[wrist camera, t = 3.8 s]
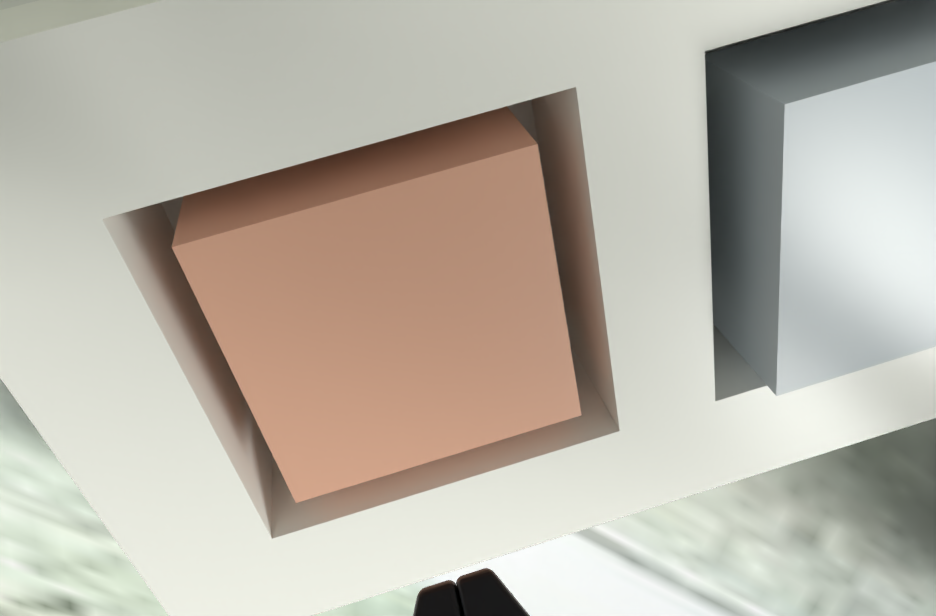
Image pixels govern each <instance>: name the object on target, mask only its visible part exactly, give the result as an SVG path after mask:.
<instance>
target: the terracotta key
mask: <svg viewBox="0 0 936 616" xmlns="http://www.w3.org/2000/svg"><path fill="white" fill-rule="evenodd" d="M172 249H173V251H174V253H175V255H176V257H177V259H178V261H179V263H180V266H181V268H182V270H183V272H184V274H185V276H186V278H187V280H188V282H189V284H190V286H191V288H192V290H193V292H194V294H195V296H196V298H197V301H198V303H199V305H200V307H201V309H202V311H203V313H204V315H205V317H206V319H207V321H208V323H209V325H210V327H211V329H212V331H213V333H214V336H215V338H216V340H217V342H218V344H219V346H220V348H221V350H222V352H223V354H224V356H225V358H226V360H227V362H228V364H229V366H230V368H231V371H232V373H233V375H234V377H235V379H236V381H237V383H238V385H239V387H240V389H241V391H242V393H243V395H244V397H245V399H246V401H247V403H248V406H249V408H250V410H251V412H252V414H253V416H254V418H255V420H256V422H257V424H258V426H259V428H260V430H261V432H262V434H263V436H264V438H265V441H266V443H267V445H268V447H269V449H270V451H271V453H272V455H273V457H274V459H275V461H276V463H277V465H278V467H279V469H280V471H281V473H282V476H283V478H284V480H285V482H286V484H287V486H288V488H289V490H290V492H291V494H292V496H293V498H294V500H295V502H296V503H298V502H301V501H304V500H308V499H311V498H314V497H317V496H321V495H324V494H327V493H330V492H334V491H337V490H340V489H343V488H347V487H350V486H353V485H356V484H360V483H363V482H366V481H369V480H373V479H376V478H379V477H382V476H386V475H389V474H392V473H395V472H399V471H402V470H405V469H408V468H412V467H415V466H418V465H421V464H425V463H428V462H431V461H434V460H438V459H441V458H444V457H448V456H451V455H454V454H457V453H461V452H464V451H467V450H470V449H474V448H477V447H480V446H483V445H487V444H490V443H493V442H496V441H500V440H503V439H506V438H509V437H513V436H516V435H519V434H522V433H526V432H529V431H532V430H535V429H539V428H542V427H545V426H548V425H552V424H555V423H558V422H561V421H565V420H568V419H571V418H574V417H578V416H581V409H580V402H579V396H578V390H577V384H576V378H575V372H574V366H573V359H572V353H571V347H570V341H569V335H568V329H567V322H566V316H565V310H564V304H563V298H562V292H561V285H560V279H559V273H558V267H557V261H556V255H555V248H554V242H553V236H552V230H551V224H550V218H549V211H548V205H547V199H546V193H545V187H544V181H543V175H542V168H541V162H540V156H539V150H538V144H537V143H536V141H535V140H534V139H533V138H532V137H531V135H530V134H529V133H528V132H527V130H526V129H525V128H524V127H523V126H522V124H521V123H520V122H519V121H518V119H517V118H516V117H515V116H514V114H513V113H512V112H511V111H510V110H509V108H508V107H507V106H506V107H502V108H499V109H495V110H491V111H488V112H484V113H481V114H477V115H473V116H470V117H466V118H463V119H459V120H456V121H452V122H448V123H445V124H441V125H438V126H434V127H430V128H427V129H423V130H420V131H416V132H412V133H409V134H405V135H402V136H398V137H394V138H391V139H387V140H384V141H380V142H376V143H373V144H369V145H366V146H362V147H359V148H355V149H351V150H348V151H344V152H341V153H337V154H333V155H330V156H326V157H323V158H319V159H315V160H312V161H308V162H305V163H301V164H297V165H294V166H290V167H287V168H283V169H279V170H276V171H272V172H269V173H265V174H262V175H258V176H254V177H251V178H247V179H244V180H240V181H236V182H233V183H229V184H226V185H222V186H218V187H215V188H211V189H208V190H204V191H200V192H197V193H193V194H190V195H186V196H183V200H182V204H181V209H180V213H179V217H178V222H177V226H176V230H175V235H174V239H173V244H172Z"/></svg>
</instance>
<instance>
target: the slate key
mask: <svg viewBox="0 0 936 616" xmlns="http://www.w3.org/2000/svg"><path fill="white" fill-rule="evenodd" d="M705 74H706V107H707V141H708V174H709V207H710V240H711V273H712V306H713V324H714V325H715V326H716V328H717V329H718V330H719V331H720V332H721V333H722V334H723V336H724V337H725V338H726V339H727V340H728V341H729V343H730V344H731V345H732V346H733V347H734V348H735V349H736V351H737V352H738V353H739V354H740V355H741V356H742V357H743V359H744V360H745V361H746V362H747V363H748V364H749V365H750V367H751V368H752V369H753V370H754V371H755V372H756V373H757V375H758V376H759V377H760V378H761V379H762V380H763V381H764V383H765V384H766V385H767V386H768V387H769V388H770V389H771V391H772V392H773V393H774V394H775V395H776V396H778V395H782V394H785V393H788V392H791V391H794V390H798V389H801V388H804V387H807V386H810V385H814V384H817V383H820V382H823V381H827V380H830V379H833V378H836V377H839V376H843V375H846V374H849V373H852V372H855V371H859V370H862V369H865V368H868V367H872V366H875V365H878V364H881V363H884V362H888V361H891V360H894V359H897V358H901V357H904V356H907V355H910V354H913V353H917V352H920V351H923V350H926V349H929V348H933V347H936V0H898V1H895V2H891V3H888V4H884V5H880V6H877V7H873V8H870V9H866V10H862V11H859V12H855V13H852V14H848V15H844V16H841V17H837V18H834V19H830V20H826V21H823V22H819V23H816V24H812V25H809V26H805V27H801V28H798V29H794V30H791V31H787V32H783V33H780V34H776V35H773V36H769V37H765V38H762V39H758V40H755V41H751V42H748V43H744V44H740V45H737V46H733V47H730V48H726V49H722V50H719V51H715V52H712V53H708V54H705Z"/></svg>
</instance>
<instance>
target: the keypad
mask: <svg viewBox="0 0 936 616" xmlns="http://www.w3.org/2000/svg"><path fill="white" fill-rule="evenodd" d="M895 1H898V0H0V378H1V380H2V381H3V383H4V384H5V385H6V387H7V388H8V390H9V391H10V393H11V394H12V395H13V397H14V398H15V400H16V401H17V402H18V404H19V405H20V407H21V408H22V409H23V411H24V412H25V414H26V415H27V417H28V418H29V419H30V421H31V422H32V424H33V425H34V426H35V428H36V429H37V431H38V432H39V433H40V435H41V436H42V438H43V439H44V441H45V442H46V443H47V445H48V446H49V448H50V449H51V450H52V452H53V453H54V455H55V456H56V457H57V459H58V460H59V462H60V463H61V464H62V466H63V467H64V469H65V470H66V472H67V473H68V474H69V476H70V477H71V479H72V480H73V481H74V483H75V484H76V486H77V487H78V488H79V490H80V491H81V493H82V494H83V496H84V497H85V498H86V500H87V501H88V503H89V504H90V505H91V507H92V508H93V510H94V511H95V512H96V514H97V515H98V517H99V518H100V520H101V521H102V522H103V524H104V525H105V527H106V528H107V529H108V531H109V532H110V534H111V535H112V536H113V538H114V539H115V541H116V542H117V543H118V545H119V546H120V548H121V549H122V551H123V552H124V553H125V555H126V556H127V558H128V559H129V560H130V562H131V563H132V565H133V566H134V567H135V569H136V570H137V572H138V573H139V575H140V576H141V577H142V579H143V580H144V582H145V583H146V584H147V586H148V587H149V589H150V590H151V591H152V593H153V594H154V596H155V597H156V599H157V600H158V601H159V603H160V604H161V606H162V607H163V608H164V610H165V611H166V613H167V614H168V615H169V616H313V615H317V614H320V613H323V612H326V611H329V610H332V609H335V608H339V607H342V606H345V605H348V604H351V603H354V602H358V601H361V600H364V599H367V598H370V597H373V596H376V595H380V594H383V593H386V592H389V591H392V590H395V589H399V588H402V587H405V586H408V585H411V584H414V583H417V582H421V581H424V580H427V579H430V578H433V577H436V576H439V575H443V574H446V573H449V572H452V571H455V570H458V569H462V568H465V567H468V566H471V565H474V564H477V563H480V562H484V561H487V560H490V559H493V558H496V557H499V556H502V555H506V554H509V553H512V552H515V551H518V550H521V549H525V548H528V547H531V546H534V545H537V544H540V543H543V542H547V541H550V540H553V539H556V538H559V537H562V536H565V535H569V534H572V533H575V532H578V531H581V530H584V529H588V528H591V527H594V526H597V525H600V524H603V523H606V522H610V521H613V520H616V519H619V518H622V517H625V516H629V515H632V514H635V513H638V512H641V511H644V510H647V509H651V508H654V507H657V506H660V505H663V504H666V503H669V502H673V501H676V500H679V499H682V498H685V497H688V496H692V495H695V494H698V493H701V492H704V491H707V490H710V489H714V488H717V487H720V486H723V485H726V484H729V483H732V482H736V481H739V480H742V479H745V478H748V477H751V476H755V475H758V474H761V473H764V472H767V471H770V470H773V469H777V468H780V467H783V466H786V465H789V464H792V463H795V462H799V461H802V460H805V459H808V458H811V457H814V456H818V455H821V454H824V453H827V452H830V451H833V450H836V449H840V448H843V447H846V446H849V445H852V444H855V443H859V442H862V441H865V440H868V439H871V438H874V437H877V436H881V435H884V434H887V433H890V432H893V431H896V430H899V429H903V428H906V427H909V426H912V425H915V424H918V423H922V422H925V421H928V420H931V419H934V418H936V347H933V348H929V349H926V350H923V351H920V352H917V353H913V354H910V355H907V356H904V357H901V358H897V359H894V360H891V361H888V362H884V363H881V364H878V365H875V366H872V367H868V368H865V369H862V370H859V371H855V372H852V373H849V374H846V375H843V376H839V377H836V378H833V379H830V380H827V381H823V382H820V383H817V384H814V385H810V386H807V387H804V388H801V389H798V390H794V391H791V392H788V393H785V394H782V395H778V396H776V395H775V394H774V393H773V392H772V391H771V389H770V388H769V387H768V386H767V385H766V384H765V383H764V381H763V380H762V379H761V378H760V377H759V376H758V375H757V373H756V372H755V371H754V370H753V369H752V368H751V367H750V365H749V364H748V363H747V362H746V361H745V360H744V359H743V357H742V356H741V355H740V354H739V353H738V352H737V351H736V349H735V348H734V347H733V346H732V345H731V344H730V343H729V341H728V340H727V339H726V338H725V337H724V336H723V334H722V333H721V332H720V331H719V330H718V329H717V328H716V326H715V325H714V324H713V306H712V273H711V240H710V207H709V174H708V141H707V107H706V74H705V54H708V53H712V52H715V51H719V50H722V49H726V48H730V47H733V46H737V45H740V44H744V43H748V42H751V41H755V40H758V39H762V38H765V37H769V36H773V35H776V34H780V33H783V32H787V31H791V30H794V29H798V28H801V27H805V26H809V25H812V24H816V23H819V22H823V21H826V20H830V19H834V18H837V17H841V16H844V15H848V14H852V13H855V12H859V11H862V10H866V9H870V8H873V7H877V6H880V5H884V4H888V3H891V2H895ZM506 106H507V107H508V108H509V110H510V111H511V112H512V113H513V114H514V116H515V117H516V118H517V119H518V121H519V122H520V123H521V124H522V126H523V127H524V128H525V129H526V130H527V132H528V133H529V134H530V135H531V137H532V138H533V139H534V140H535V141H536V143H537V144H538V150H539V156H540V162H541V168H542V175H543V181H544V187H545V193H546V199H547V205H548V211H549V218H550V224H551V230H552V236H553V242H554V248H555V255H556V261H557V267H558V273H559V279H560V285H561V292H562V298H563V304H564V310H565V316H566V322H567V329H568V335H569V341H570V347H571V353H572V359H573V366H574V372H575V378H576V384H577V390H578V396H579V402H580V409H581V416H578V417H574V418H571V419H568V420H565V421H561V422H558V423H555V424H552V425H548V426H545V427H542V428H539V429H535V430H532V431H529V432H526V433H522V434H519V435H516V436H513V437H509V438H506V439H503V440H500V441H496V442H493V443H490V444H487V445H483V446H480V447H477V448H474V449H470V450H467V451H464V452H461V453H457V454H454V455H451V456H448V457H444V458H441V459H438V460H434V461H431V462H428V463H425V464H421V465H418V466H415V467H412V468H408V469H405V470H402V471H399V472H395V473H392V474H389V475H386V476H382V477H379V478H376V479H373V480H369V481H366V482H363V483H360V484H356V485H353V486H350V487H347V488H343V489H340V490H337V491H334V492H330V493H327V494H324V495H321V496H317V497H314V498H311V499H308V500H304V501H301V502H298V503H296V502H295V500H294V498H293V496H292V494H291V492H290V490H289V488H288V486H287V484H286V482H285V480H284V478H283V476H282V473H281V471H280V469H279V467H278V465H277V463H276V461H275V459H274V457H273V455H272V453H271V451H270V449H269V447H268V445H267V443H266V441H265V438H264V436H263V434H262V432H261V430H260V428H259V426H258V424H257V422H256V420H255V418H254V416H253V414H252V412H251V410H250V408H249V406H248V403H247V401H246V399H245V397H244V395H243V393H242V391H241V389H240V387H239V385H238V383H237V381H236V379H235V377H234V375H233V373H232V371H231V368H230V366H229V364H228V362H227V360H226V358H225V356H224V354H223V352H222V350H221V348H220V346H219V344H218V342H217V340H216V338H215V336H214V333H213V331H212V329H211V327H210V325H209V323H208V321H207V319H206V317H205V315H204V313H203V311H202V309H201V307H200V305H199V303H198V301H197V298H196V296H195V294H194V292H193V290H192V288H191V286H190V284H189V282H188V280H187V278H186V276H185V274H184V272H183V270H182V268H181V266H180V263H179V261H178V259H177V257H176V255H175V253H174V251H173V249H172V244H173V239H174V235H175V230H176V226H177V222H178V217H179V213H180V209H181V204H182V200H183V196H186V195H190V194H193V193H197V192H200V191H204V190H208V189H211V188H215V187H218V186H222V185H226V184H229V183H233V182H236V181H240V180H244V179H247V178H251V177H254V176H258V175H262V174H265V173H269V172H272V171H276V170H279V169H283V168H287V167H290V166H294V165H297V164H301V163H305V162H308V161H312V160H315V159H319V158H323V157H326V156H330V155H333V154H337V153H341V152H344V151H348V150H351V149H355V148H359V147H362V146H366V145H369V144H373V143H376V142H380V141H384V140H387V139H391V138H394V137H398V136H402V135H405V134H409V133H412V132H416V131H420V130H423V129H427V128H430V127H434V126H438V125H441V124H445V123H448V122H452V121H456V120H459V119H463V118H466V117H470V116H473V115H477V114H481V113H484V112H488V111H491V110H495V109H499V108H502V107H506Z"/></svg>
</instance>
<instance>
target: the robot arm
mask: <svg viewBox="0 0 936 616" xmlns="http://www.w3.org/2000/svg"><path fill="white" fill-rule="evenodd" d="M456 585H457V586H456ZM413 616H530V615H529V614H528V613H527V612H526V611H525V609H524V608H523V607H522V606H521V604H520V603H519V602H518V601H517V600H516V598H515V597H514V596H513V595H512V593H511V592H510V591H509V590H508V589H507V587H506V586H505V585H504V584H503V582H502V581H501V580H500V579H499V578H498V576H497V575H496V574H495V573H494V572H493V571H492V570H490V569H487V568H485V569H482V570H478V571H475V572H472V573H469V574H466V575H463V576H460V577H459V578H458V579H457V582H456V584H455V582H453V581H451V580H447V581H444V582H441V583H438V584H435V585H432V586H429V587H425V588H423V589H422V590H421V591H420V592H419V594H418V596H417V599H416V604H415V609H414V614H413Z"/></svg>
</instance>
